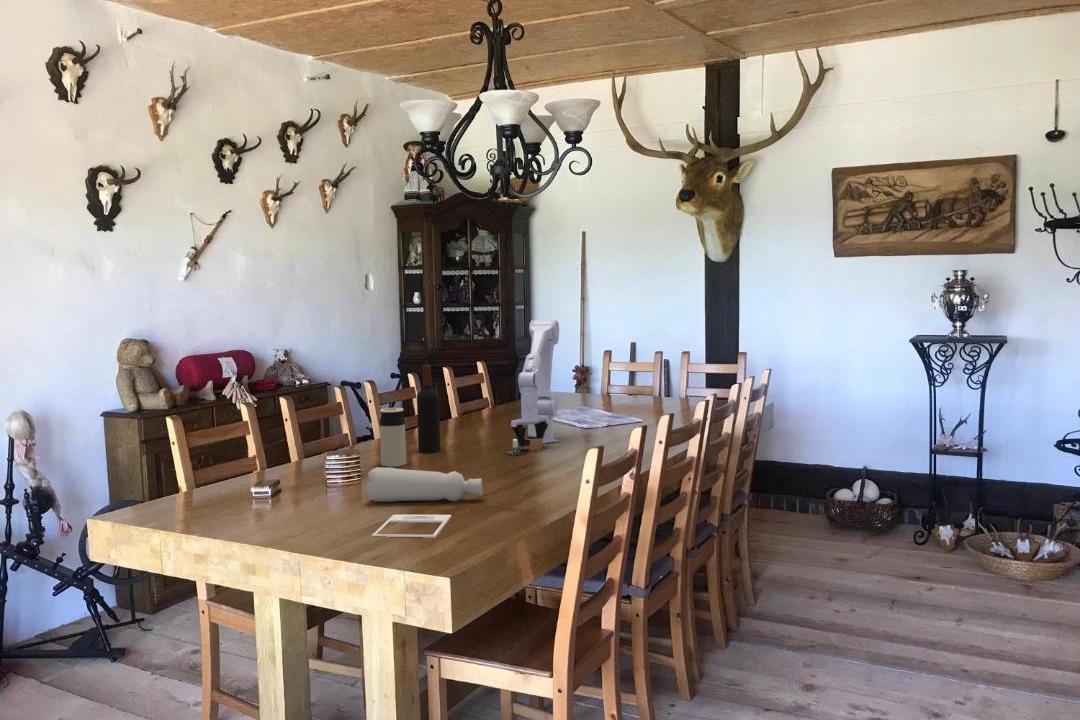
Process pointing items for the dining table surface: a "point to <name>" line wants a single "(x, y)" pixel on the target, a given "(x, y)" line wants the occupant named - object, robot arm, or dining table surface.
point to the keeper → (515, 449)
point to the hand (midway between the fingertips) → (530, 445)
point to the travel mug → (392, 437)
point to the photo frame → (415, 518)
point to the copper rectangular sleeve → (532, 443)
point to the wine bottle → (428, 415)
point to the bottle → (418, 485)
